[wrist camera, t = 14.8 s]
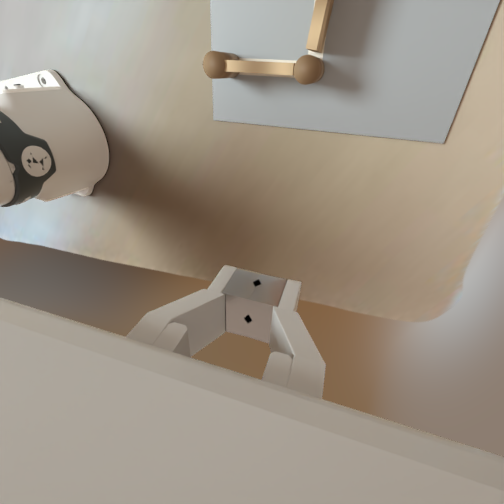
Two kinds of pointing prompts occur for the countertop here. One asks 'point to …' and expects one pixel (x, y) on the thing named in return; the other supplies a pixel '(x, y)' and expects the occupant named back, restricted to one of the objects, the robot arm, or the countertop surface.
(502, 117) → the countertop surface
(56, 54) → the countertop surface
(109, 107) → the countertop surface
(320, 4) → the rail
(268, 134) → the countertop surface
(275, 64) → the fixed rail
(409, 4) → the card
